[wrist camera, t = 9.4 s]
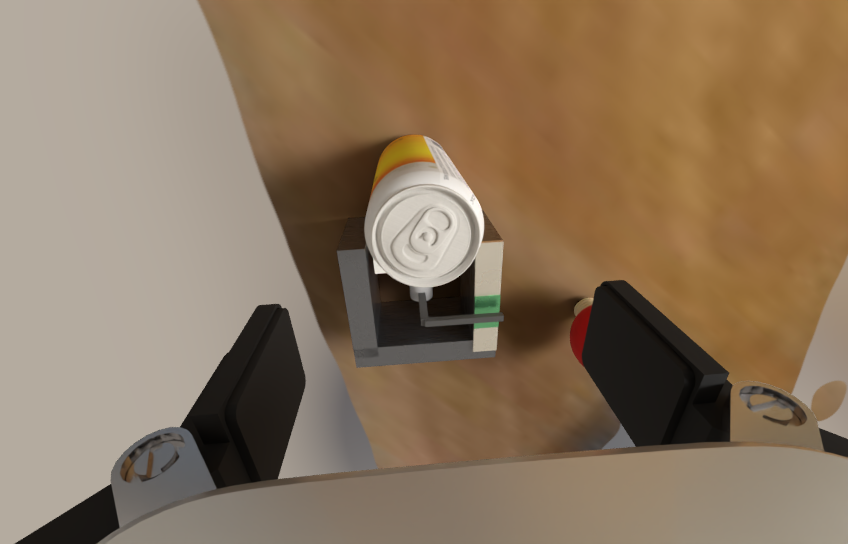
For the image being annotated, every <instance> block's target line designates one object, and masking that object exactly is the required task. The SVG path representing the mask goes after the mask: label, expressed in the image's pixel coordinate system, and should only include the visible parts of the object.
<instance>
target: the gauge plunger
mask: <svg viewBox="0 0 848 544" xmlns="http://www.w3.org/2000/svg"><path fill="white" fill-rule="evenodd" d="M373 262H374V270H375V274H381V273H386V272H385V271H384V270H383V269H382V268H381V267H380V266H379V265H378V264H377V262H376V261H375V260H374V258H373ZM410 297H411V299H412V300H414V301H418V302H419V308H420V319H421V326H425V327H433V326H446V325H460V324H473V323H487V322H500V321H503V320H504V315H503V313H502V312H498V313H484V314H470V315H456V316H443V317H428V310H427V302H426V301H428V300H430V299H431V298H432V297H433V288H432V287H426V288H425V287H413V286H410Z"/></svg>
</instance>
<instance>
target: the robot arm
mask: <svg viewBox="0 0 848 544" xmlns="http://www.w3.org/2000/svg"><path fill="white" fill-rule="evenodd" d="M582 362H583V365H584V367H585V369H586V370H587V372H588V373H589V375H590V376H591V378H592V379H593V381H594V382H595V384H596V386H597V387H598V389H599V390H600V392H601V393H602V395H603V396H604V398H605V399H606V401H607V403H608V404H609V406H610V407H611V409H612V410H613V412H614V413H615V415H616V416H617V418H618V419H619V421H620V423H621V424H622V426H623V427H624V429H625V430H626V432H627V433H628V435H629V436H630V438H631V439H632V441H633V443H634V444H635V446H636V447H628V448H616V449H604V450H591V451H579V452H567V453H554V454H542V455H531V456H519V457H507V458H496V459H484V460H473V461H461V462H450V463H438V464H427V465H416V466H406V467H395V468H384V469H373V470H362V471H351V472H341V473H331V474H321V475H312V476H303V477H293V478H284V479H278V476H279V472H280V469H281V466H282V463H283V459H284V456H285V452H286V449H287V446H288V442H289V439H290V436H291V432H292V429H293V426H294V422H295V419H296V416H297V412H298V409H299V405H300V402H301V399H302V395H303V392H304V389H305V374H304V370H303V366H302V362H301V358H300V354H299V351H298V347H297V343H296V339H295V335H294V331H293V328H292V324H291V320H290V316H289V312H288V310H287V309H286V308H281V306H280V305H279V304H271V305H259V306H258V307H257V308H256V309H255V311H254V313H253V314H252V316H251V317H250V319H249V321H248V323H247V324H246V325H245V327H244V329H243V330H242V332H241V334H240V335H239V337H238V339H237V340H236V342H235V343H234V345H233V347H232V348H231V350H230V351H229V353H227V354H226V355H225V356H224V357H223V359H222V360H221V362H220V364H219V366H218V367H217V369H216V370H215V372H214V373H213V375H212V377H211V378H210V380H209V381H208V383H207V385H206V386H205V388H204V389H203V391H202V393H201V394H200V396H199V397H198V399H197V401H196V402H195V404H194V405H193V407H192V409H191V410H190V412H189V414H188V415H187V417H186V418H185V420H184V421H183V423H182V425H181V426H180V427H169V428H165V429H161V430H158V431H156V432H153V433H151V434H149V435H146V436H145V437H143V438H142V439H140V440H138V441H137V442H135V443H134V444H133V445H132V446H131V447H129V448H128V449H127V450H126V451H125V452H124V453H123V454H122V455H121V457H120V458H119V459H118V460H117V461H116V463H115V465H114V467H113V469H112V472H111V484H110V485H108V486H107V487H105V488H104V489H102V490H101V491H99V492H97V493H96V494H94V495H93V496H91V497H89V498H88V499H86V500H85V501H83V502H81V503H80V504H78V505H76V506H75V507H73V508H71V509H70V510H68V511H67V512H65V513H63V514H62V515H61V516H59V517H57V518H56V519H54V520H52V521H51V522H49V523H47V524H46V525H44V526H43V527H41V528H39V529H38V530H36V531H34V532H33V533H31V534H30V535H28V536H26V537H25V538H23V539H22V540H20V541H18V542H17V543H15V544H848V439H846V438H844V437H841V436H838V435H836V434H833V433H830V432H828V431H825V430H823V429H820V428H819V427H818V422H817V419H816V417H815V415H814V413H813V412H812V411H811V410H810V409H809V408H808V407H807V405H805V404H804V403H803V402H802V401H800V400H799V399H798V398H796V397H795V396H793V395H791V394H789V393H787V392H786V391H784V390H782V389H779V388H777V387H774V386H771V385H769V384H764V383H760V382H754V381H742V382H738V383H736V384H734V385H732V384H731V383H730V382H729V381H728V380H726V379H727V377H728V375H729V372H728V371H726V370H725V369H724V368H723V367H722V366H721V365H720V364H719V363H717V362H716V361H715V360H714V359H713V358H712V357H711V356H710V355H708V354H707V353H706V352H705V351H704V350H703V349H702V348H701V347H699V346H698V345H697V344H696V343H695V342H694V341H693V340H692V339H690V338H689V337H688V336H687V335H686V334H685V333H684V332H683V331H681V330H680V329H679V328H678V327H677V326H676V325H675V324H673V323H672V322H671V321H670V320H669V319H668V318H667V317H666V316H664V315H663V314H662V313H661V312H660V311H659V310H658V309H657V308H655V307H654V306H653V305H652V304H651V303H650V302H649V301H648V300H646V299H645V298H644V297H643V296H642V295H641V294H640V293H639V292H637V291H636V290H635V289H634V288H633V287H632V286H631V285H630V284H628V283H627V282H626V281H624V280H618V281H604V282H603V283H602V284H601V286H599V287H597V288H596V290H595V294H594V299H593V303H592V308H591V313H590V317H589V322H588V327H587V332H586V336H585V341H584V346H583V351H582Z"/></svg>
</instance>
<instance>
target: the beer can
mask: <svg viewBox="0 0 848 544" xmlns="http://www.w3.org/2000/svg"><path fill="white" fill-rule="evenodd" d="M364 232H365V239H366V243H367V246H368V249H369V251H370V253H371V255H372V257H373V258H374V260H375V261H376V262H377V264H378V265H379V266H380V267H381V268H382V269H383V270H384V271H385V272H386V273H387V274H388V275H389V276H391V277H392V278H394V279H395V280H397V281H399V282H401V283H403V284H406V285H409V286H413V287H425V288H426V287H435V286H439V285H443V284H446V283H448V282H450V281H452V280H454V279H456V278H457V277H459V276H460V275H461V274H462V273H464V272H465V271H466V270H467V269H468V267H469V266H470V265H471V264H472V262H473V260H474V259H475V257H476V255H477V252H478V250H479V248H480V245H481V242H482V239H483V234H484V218H483V213H482V209H481V207H480V204H479V202H478V200H477V198H476V197H475V195H474V194H473V192H472V191H471V189H470V188H469V186H468V185H467V183H466V182H465V180H464V179H463V178H462V176H461V175H460V173H459V172H458V170H457V169H456V167H455V166H454V164H453V163H452V161H451V160H450V158H449V157H448V155H447V154H446V152H445V151H444V150H443V148H442V147H441V146H440V145H439V144H438V143H437V142H435V141H434V140H432V139H430V138H428V137H425V136H422V135H406V136H403V137H400V138H398V139H396V140H394V141H393V142H391V143H390V144H389V145H388V146H387V147H386V148H385V150H384V151H383V153H382V154H381V156H380V159H379V162H378V166H377V170H376V174H375V179H374V183H373V187H372V191H371V196H370V200H369V204H368V209H367V213H366V218H365V226H364Z"/></svg>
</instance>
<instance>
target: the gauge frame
mask: <svg viewBox="0 0 848 544" xmlns="http://www.w3.org/2000/svg"><path fill="white" fill-rule="evenodd" d="M482 213H483V218H484V234H483V239H482V242H481V245H480V248H479V250H478V252H477V255H476V257H475V259H474V260H473V262H472V264H471V265H470V266H469V267H468V269H467V270H466V271H465V272H464V273H462V274H461V275H460V297H449V298H435V299H430V300H428V301H426V302H427V310H428V317H443V316H456V315H470V314H484V313H498V312H499V310H500V289H501V274H502V258H503V243H504V241H503V240H502V238H501V237H500V235H499V234H498V232H497V231H496V229H495V228H494V226H493V225H492V223H491V222H490V220H489V219H488V217H487V216H486V214H485V213H484V211H483V210H482ZM365 218H366V217H359V218H348V221H347V223H346V226H345V229H344V232H343V235H342V237H341V240H340V243H339V246H338V249H337V255H338V261H339V267H340V273H341V279H342V285H343V291H344V296H345V302H346V308H347V314H348V320H349V326H350V332H351V338H352V344H353V349H354V355H355V361H356V367H357V368H358V367H371V366H384V365H397V364H410V363H423V362H436V361H449V360H462V359H475V358H488V357H495V351H496V350H497V336H498V325H499V322H487V323H473V324H460V325H446V326H433V327H425V326H421V319H420V308H419V302H418V301H414V300H407V301H393V302H381V299H380V290H379V281H378V274H375V270H374V262H373V257H372V255H371V253H370V251H369V249H368V246H367V243H366V239H365V232H364V226H365Z"/></svg>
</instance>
